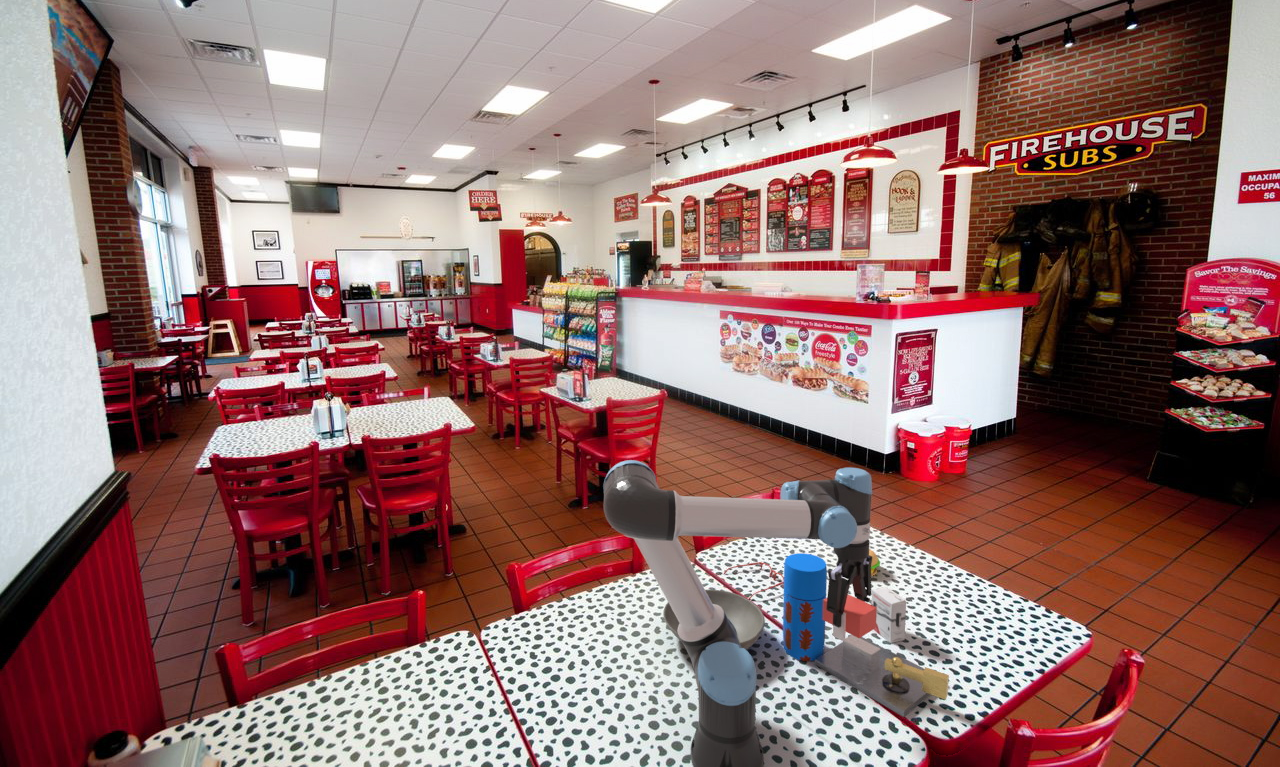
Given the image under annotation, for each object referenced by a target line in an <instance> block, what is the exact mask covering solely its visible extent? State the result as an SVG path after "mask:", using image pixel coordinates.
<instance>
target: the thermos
mask: <svg viewBox="0 0 1280 767" xmlns="http://www.w3.org/2000/svg"><path fill="white" fill-rule="evenodd" d="M783 566H784V567H783V577H784V588H783V610H782V611H783V612H782V613H783V614H782V616H783V617H782V640H783V650H784V651H785V653H786V654H787V655H788V656H790V657H791V658H793V659H795V660H797V661H802V662H813V661H814V662H815V659H816V658H818V657H820V656H821V655H823V654H824V653H825V651H824V650H825V642H826V621H824V620H823V600H824V599H826V598H827V584H828V583H827V582H828V581H827V580H828V569H827V562H826V561H825V560H824V559H823V558H821V557H820V556H818V555H814V554H812V553H804V552H803V553H801V552H800V553H799V552H797V553H792V554H790V555H788V556H786V557H785V558H784V564H783Z"/></svg>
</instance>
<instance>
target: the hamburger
mask: <svg viewBox="0 0 1280 767" xmlns="http://www.w3.org/2000/svg"><path fill="white" fill-rule="evenodd" d="M869 555H870V556H872V563H871V577H874V576H876V575H877V573H878V569H877V568H878V567H880V566H881V560H880V559H879V558H878V556H877V554H876V553H875V552H874V551H873V550H872V549H871V548H869ZM875 574H876V575H875ZM873 575H874V576H873Z"/></svg>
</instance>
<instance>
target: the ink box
mask: <svg viewBox="0 0 1280 767" xmlns="http://www.w3.org/2000/svg"><path fill="white" fill-rule="evenodd" d="M871 605H873V606H875V607H877V614H876V628H875V629H873V630H874V631H875V632H876V633H877V634H878V635H880V636H881V637H882V638H884V639H885V640H886V641H887V642H888V643H890V644H893V643H897V642H902V641H905V638H906V619H907V618H906V614H907V600H906V598H904V597H902V596H901V595H899V594H898V593H897V592H895V591H893V590H892V589H891V588H889V587H888V586H883V587H878V588H874V589H871Z"/></svg>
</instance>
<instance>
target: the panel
mask: <svg viewBox="0 0 1280 767" xmlns="http://www.w3.org/2000/svg"><path fill="white" fill-rule="evenodd" d="M894 657H899V658H900V659H901V660H902V663H903V664H906V665H909V666H912V667H914V668H917V669H920V670H923V671H924V669H925V667H922V666H921V665H918V664H916V663H914V662H912V661H911V660H909V659H906V658H904V657H903V656H900V655H898V654H897V653H894V652H892V651H891V650H889V649H886V648H885V647H883V646H881V645H879V644H877V643H874V641H871V640H870V639H867V638H865V637H864V636H862V637H861V638H857V637H855V636H853V635H851V634H849V635H848V636H847V637H845V640H844V641H841V642H840V643H838V644H837V645H836V646H834V647H832V648H831V649H828V651H826V652H824V653H823V655H821V656H820V657H818V658H816V659H815V660H814V665H815V666H817V667H818V668H820V669H822V670H823V671H825V672H827V673H829V674H830V675H832V676H833V677H835V678H837V679H839V680H840V681H842V682H844V683H845V684H847V685H849V686H850V687H852V688H854V689H856V690H858V692H860V693H862V694H864V695H865V696H867V697H869V698H871V699H872V700H874V701H876V702H877V703H879V704H881V705H882V706H885V707H886V708H888V709H889V710H891V711H892V712H894V713H895V714H897V715H899V716H901V717H902V718H904V717H906V716H907V715H908V714H909V713H910V712H912V710H914V709H915V708H916V707H918V705H920V704H921V703H922V702H923V701H924V700H926V699H927V698H928V697H930V696H931V694H929V693H926V692H923V691H922V684H923V683H921V682H918V681H916V680H913V679H910V678H907V677H905V676H902V675H901V682H900V683H899V684H896V683H893V682H892V680H891V679H892V672H891V671H888V670H885V661H886V659H887V658H889V659H893V658H894Z"/></svg>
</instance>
